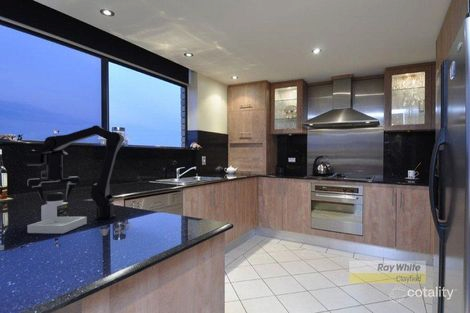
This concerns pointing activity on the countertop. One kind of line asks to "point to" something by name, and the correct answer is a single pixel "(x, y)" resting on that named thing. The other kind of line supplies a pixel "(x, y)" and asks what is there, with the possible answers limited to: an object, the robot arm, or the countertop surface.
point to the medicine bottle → (54, 207)
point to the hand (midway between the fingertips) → (55, 200)
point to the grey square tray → (57, 225)
